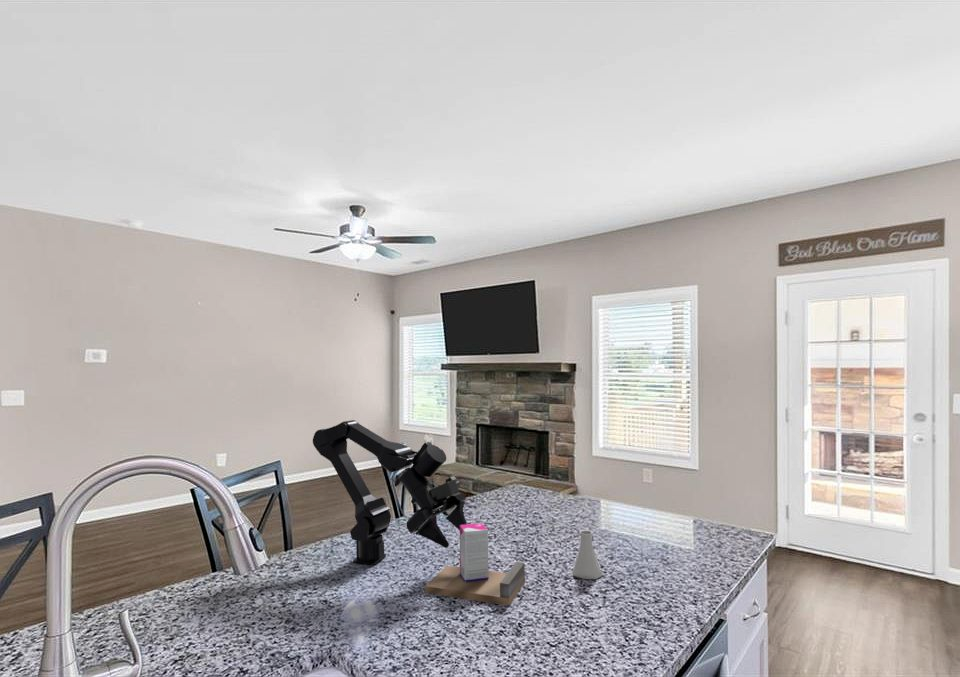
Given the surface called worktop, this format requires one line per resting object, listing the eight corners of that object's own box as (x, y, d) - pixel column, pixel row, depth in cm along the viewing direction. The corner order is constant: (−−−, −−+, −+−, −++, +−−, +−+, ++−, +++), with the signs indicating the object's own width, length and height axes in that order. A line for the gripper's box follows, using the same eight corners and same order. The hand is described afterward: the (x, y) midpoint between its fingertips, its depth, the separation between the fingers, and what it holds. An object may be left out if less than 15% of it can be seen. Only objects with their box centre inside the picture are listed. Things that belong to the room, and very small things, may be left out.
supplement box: (489, 579, 119) (488, 529, 120) (464, 583, 118) (463, 532, 118) (483, 569, 125) (481, 521, 125) (459, 573, 123) (458, 524, 124)
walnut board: (424, 592, 117) (424, 572, 117) (447, 571, 128) (446, 553, 128) (509, 605, 110) (508, 584, 110) (525, 582, 121) (524, 562, 121)
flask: (605, 570, 126) (604, 529, 127) (599, 582, 120) (597, 538, 120) (576, 566, 129) (575, 525, 130) (568, 577, 123) (567, 535, 123)
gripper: (416, 475, 119) (457, 532, 113) (459, 460, 135) (497, 509, 129) (389, 505, 122) (428, 561, 116) (434, 487, 138) (470, 536, 133)
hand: (458, 540), depth 124 cm, fingers open, 9 cm apart
